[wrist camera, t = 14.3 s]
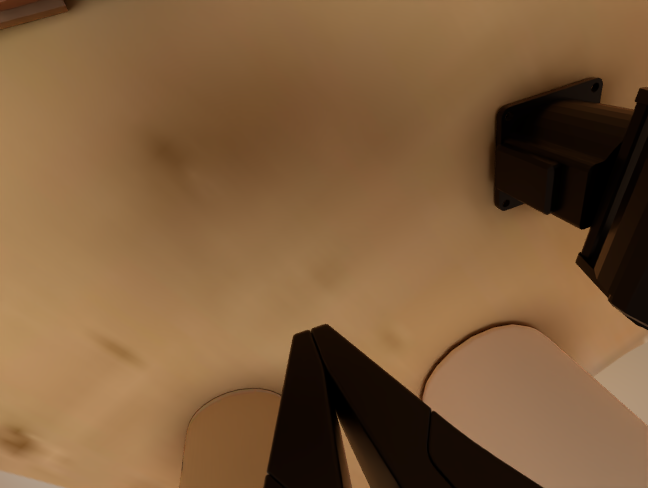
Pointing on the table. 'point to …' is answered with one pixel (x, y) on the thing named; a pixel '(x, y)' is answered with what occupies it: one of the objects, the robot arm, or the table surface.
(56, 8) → the domino
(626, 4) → the table surface
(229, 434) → the coffee cup
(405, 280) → the table surface
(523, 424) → the white lidded jar
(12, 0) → the domino
